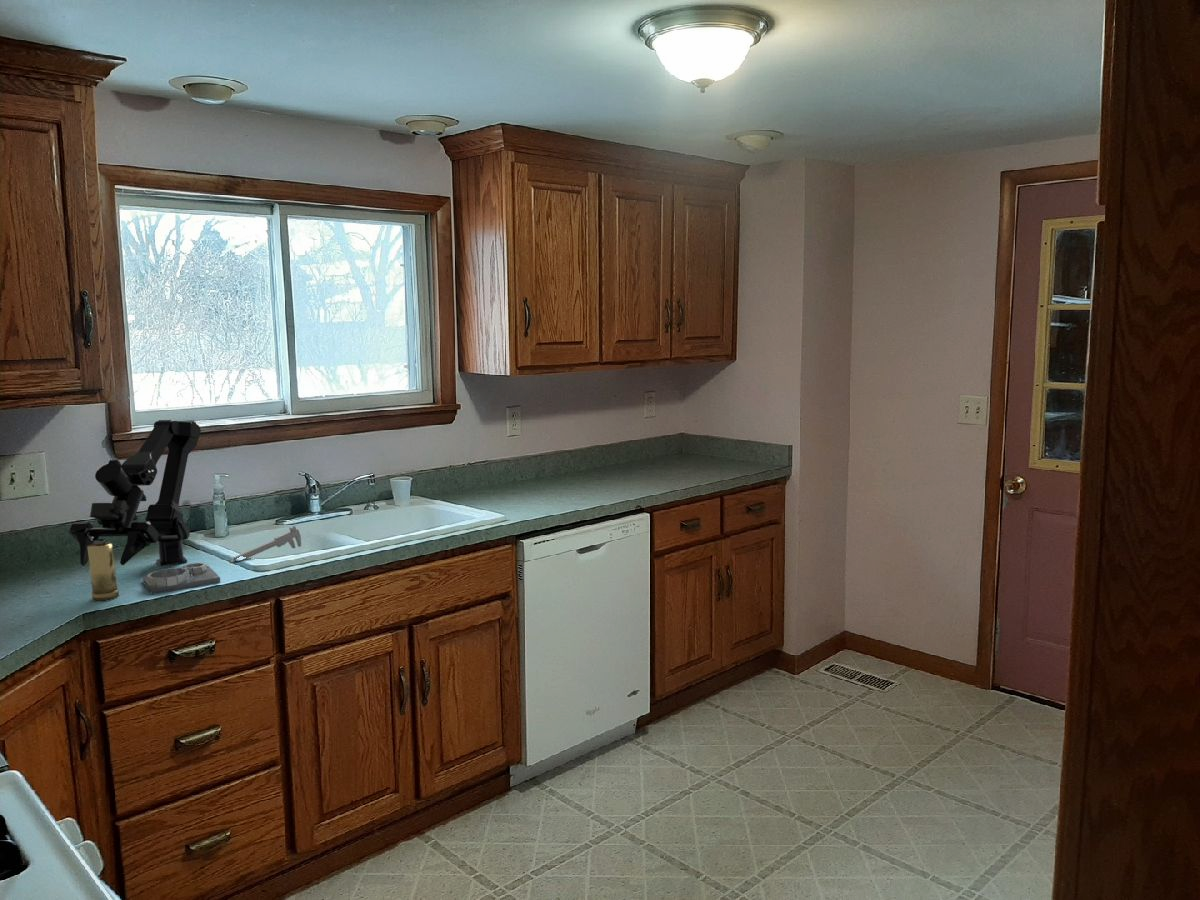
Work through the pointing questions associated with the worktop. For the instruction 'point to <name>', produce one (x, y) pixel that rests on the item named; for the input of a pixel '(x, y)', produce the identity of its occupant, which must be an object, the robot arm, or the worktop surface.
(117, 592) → the brass cylinder
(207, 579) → the plate
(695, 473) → the worktop surface
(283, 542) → the caliper
